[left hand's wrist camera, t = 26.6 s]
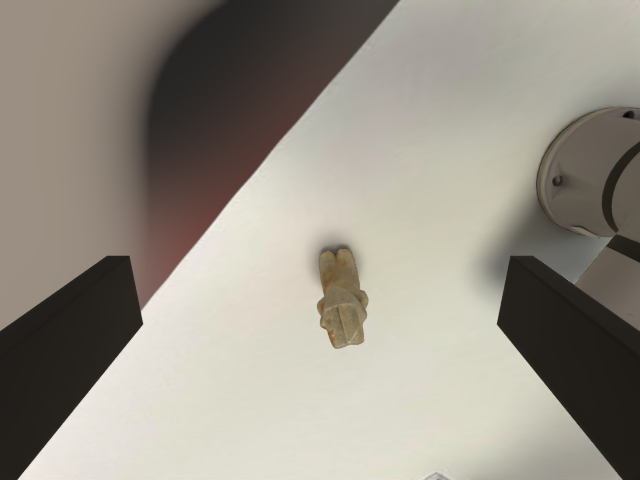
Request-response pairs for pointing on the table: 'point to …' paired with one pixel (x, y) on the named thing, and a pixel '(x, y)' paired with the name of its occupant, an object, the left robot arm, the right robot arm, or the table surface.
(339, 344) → the sculpture
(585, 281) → the left robot arm
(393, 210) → the table surface
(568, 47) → the table surface
